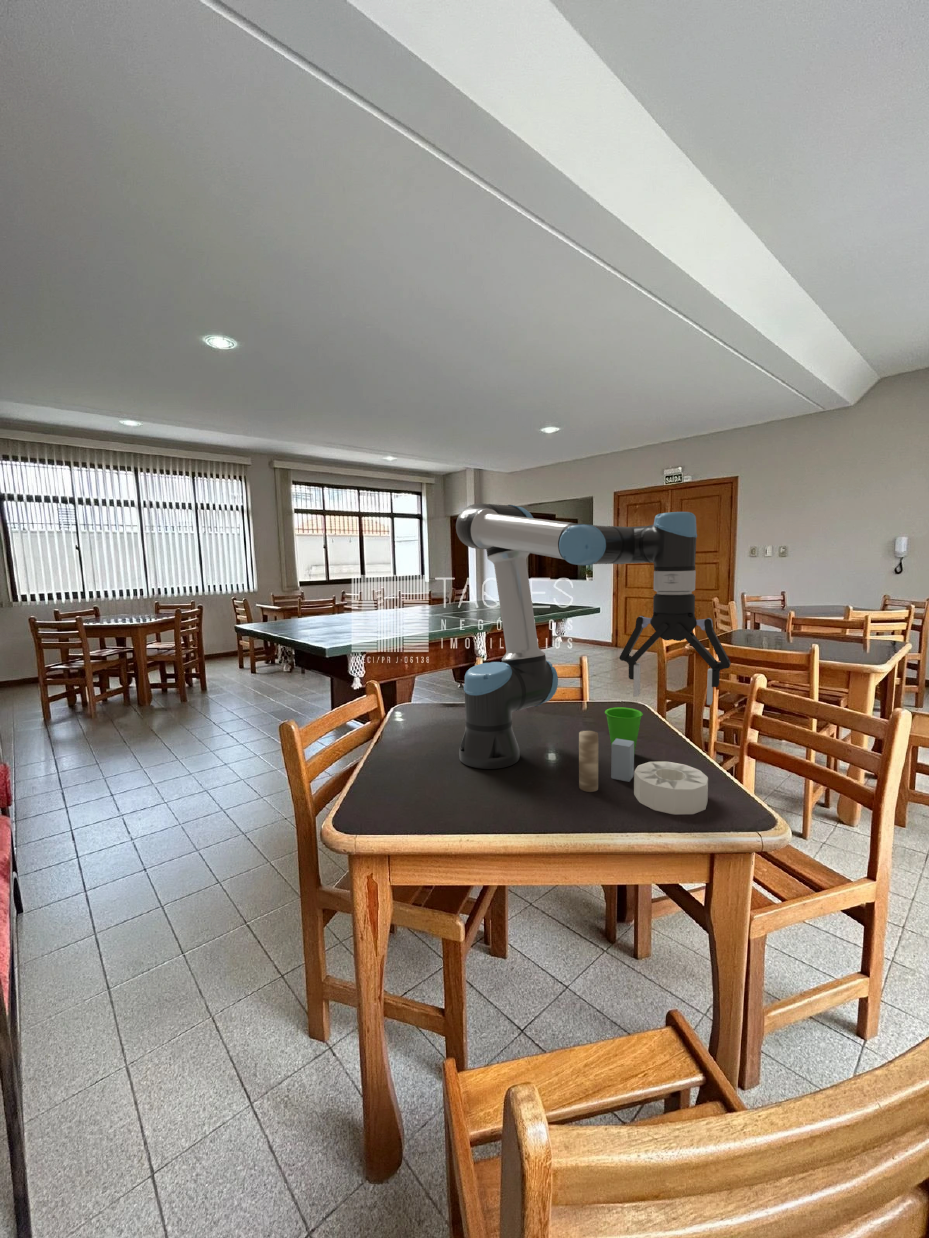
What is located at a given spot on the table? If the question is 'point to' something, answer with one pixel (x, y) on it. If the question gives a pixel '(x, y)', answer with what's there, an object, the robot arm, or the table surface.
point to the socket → (671, 787)
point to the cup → (623, 724)
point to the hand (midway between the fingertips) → (671, 699)
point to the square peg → (622, 760)
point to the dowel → (588, 761)
